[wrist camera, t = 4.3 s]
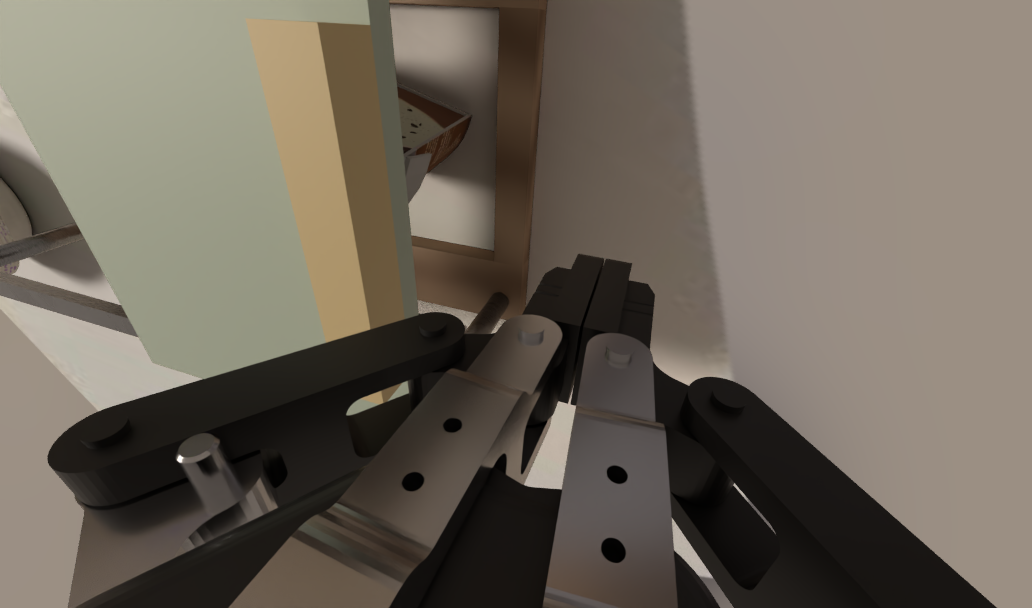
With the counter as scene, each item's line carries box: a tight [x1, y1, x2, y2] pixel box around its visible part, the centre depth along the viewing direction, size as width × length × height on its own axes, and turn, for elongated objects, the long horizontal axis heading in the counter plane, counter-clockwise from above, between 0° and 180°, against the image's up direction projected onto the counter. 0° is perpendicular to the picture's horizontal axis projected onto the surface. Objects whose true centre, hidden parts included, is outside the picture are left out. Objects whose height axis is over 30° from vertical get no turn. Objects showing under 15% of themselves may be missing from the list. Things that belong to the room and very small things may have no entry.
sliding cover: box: [0, 0, 419, 415], centre depth 16 cm, size 22×17×3 cm
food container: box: [397, 83, 472, 203], centre depth 24 cm, size 12×6×10 cm, turn 71°
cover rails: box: [0, 223, 509, 337], centre depth 24 cm, size 21×39×11 cm, turn 87°
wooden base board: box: [389, 0, 547, 320], centre depth 29 cm, size 23×40×2 cm, turn 87°
